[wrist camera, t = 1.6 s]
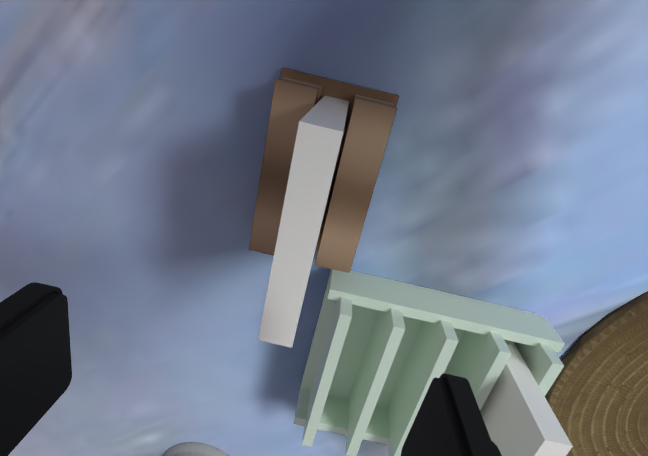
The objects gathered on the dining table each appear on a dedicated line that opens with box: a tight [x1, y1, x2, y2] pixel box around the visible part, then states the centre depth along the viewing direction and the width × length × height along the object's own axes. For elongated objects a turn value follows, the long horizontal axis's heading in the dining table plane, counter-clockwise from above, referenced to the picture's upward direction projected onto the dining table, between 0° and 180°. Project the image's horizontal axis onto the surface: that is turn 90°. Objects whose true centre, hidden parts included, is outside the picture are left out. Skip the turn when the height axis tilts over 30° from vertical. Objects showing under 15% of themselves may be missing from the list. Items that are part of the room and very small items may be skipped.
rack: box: [294, 269, 573, 456], centre depth 28 cm, size 14×17×11 cm
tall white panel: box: [258, 96, 349, 348], centre depth 21 cm, size 10×2×12 cm, turn 168°
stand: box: [249, 68, 399, 273], centre depth 25 cm, size 12×8×4 cm, turn 168°
